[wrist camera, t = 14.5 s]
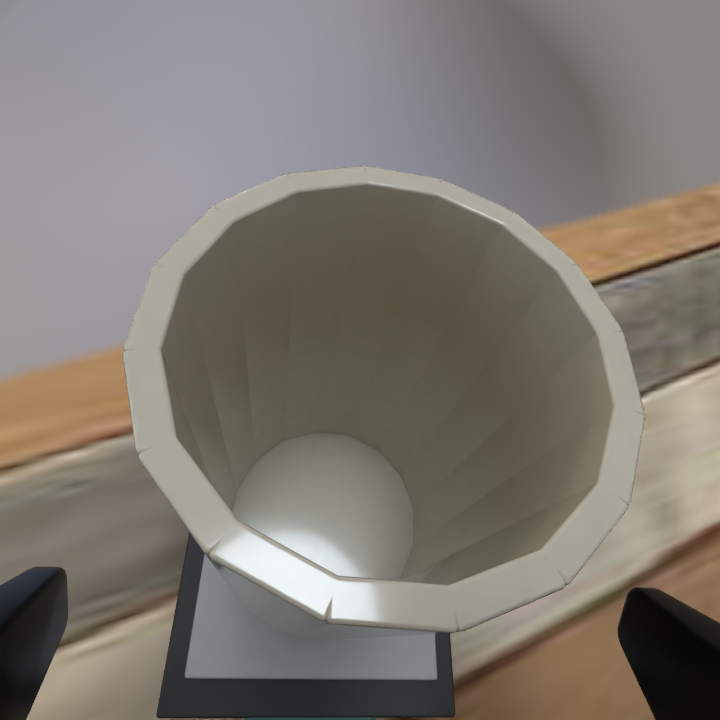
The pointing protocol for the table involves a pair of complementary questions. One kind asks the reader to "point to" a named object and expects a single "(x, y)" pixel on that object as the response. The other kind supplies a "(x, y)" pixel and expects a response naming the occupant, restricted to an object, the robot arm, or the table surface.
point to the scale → (290, 664)
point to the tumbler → (381, 403)
